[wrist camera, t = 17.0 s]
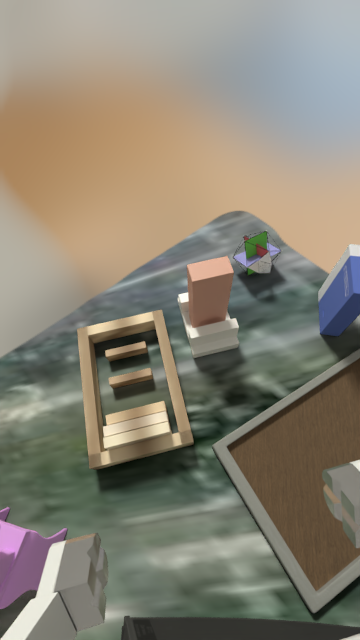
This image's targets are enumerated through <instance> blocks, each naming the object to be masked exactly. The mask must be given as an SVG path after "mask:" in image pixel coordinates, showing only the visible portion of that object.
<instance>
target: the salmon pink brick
mask: <svg viewBox="0 0 360 640" xmlns="http://www.w3.org/2000/svg"><path fill="white" fill-rule="evenodd" d="M187 275H188V299H189V318H190V321H191V325H192V328H196V327H200V326H204V325H209V324H213V323H217V322H221V321H225V319H226V314H227V308H228V302H229V297H230V291H231V286H232V280H233V275H234V271H233V269H232V266H231V264H230V261H229V259H228V256H225V257H221V258H216V259H211V260H207V261H202V262H198V263H193V264H189V265H187Z"/></svg>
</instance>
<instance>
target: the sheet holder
mask: <svg viewBox="0 0 360 640" xmlns="http://www.w3.org/2000/svg"><path fill="white" fill-rule="evenodd" d="M178 304H179V308H180V311H181V315H182V319H183V322H184V326H185V329H186V333H187V337H188V340H189V344H190V348H191V351H192V355H193V358H196V357H201V356H205V355H209V354H213V353H217V352H221V351H226V350H230V349H234V348H238V346H239V342H238V339H237V332H238V329H239V326H238V323H237V321H236V318H234V319H230V317H229V314H228V311H227V314H226V319H225V321H221V322H217V323H213V324H209V325H204V326H200V327H196V328H192V325H191V321H190V318H189V299H188V293H184V294H180V295H179V298H178Z"/></svg>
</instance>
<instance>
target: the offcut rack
mask: <svg viewBox="0 0 360 640" xmlns="http://www.w3.org/2000/svg"><path fill="white" fill-rule="evenodd" d="M154 329H156V332H157V336H158V341H159V345H160V350H161V354H162V359H163V363H164V367H165V372H166V376H167V381H168V385H169V390H170V394H171V399H172V403H173V408H174V412H175V416H176V421H177V425H178V430H179V432H178V433H174V434H172V431H171V427H170V422H169V417H168V412H167V408H166V405H165V402H164V401H162V402H158V403H154V404H150V405H146V406H142V407H138V408H134V409H130V410H126V411H122V412H118V413H114V414H110V415H106V422H107V425H108V426H104V427H103V418H102V410H101V401H100V392H99V384H98V375H97V366H96V358H95V349H94V343H98V342H102V341H107V340H111V339H115V338H120V337H124V336H128V335H132V334H137V333H141V332H145V331H150V330H154ZM77 333H78V344H79V355H80V366H81V377H82V388H83V400H84V411H85V422H86V433H87V444H88V455H89V467H90V469H96V470H97V469H101V468H105V467H109V466H113V465H116V464H120V463H124V462H128V461H132V460H136V459H139V458H143V457H147V456H151V455H155V454H159V453H162V452H166V451H170V450H174V449H178V448H182V447H186V446H189V445H193V444H194V441H193V437H192V433H191V429H190V425H189V421H188V417H187V412H186V408H185V404H184V400H183V396H182V392H181V388H180V384H179V379H178V375H177V371H176V367H175V363H174V359H173V355H172V351H171V346H170V342H169V338H168V334H167V330H166V326H165V322H164V317H163V313H162V310H158V311H153V312H149V313H145V314H140V315H136V316H132V317H127V318H123V319H118V320H114V321H110V322H105V323H101V324H96V325H92V326H88V327H83V328H79V329H77ZM147 352H148V350H147V346H146V343H145V341H144V342H140V343H136V344H131V345H127V346H123V347H118V348H114V349H110V350H106V351H105V353H106V358H107V359H108V360H109V362H110V361H114V360H118V359H122V358H126V357H131V356H135V355H139V354H143V353H147ZM151 379H153V375H152V371H151V368H148V369H144V370H140V371H136V372H132V373H128V374H123V375H119V376H115V377H111V378H109V383H110V386H111V387H112V388H113V389H114V388H118V387H122V386H126V385H130V384H134V383H138V382H142V381H146V380H151ZM106 449H107V450H108V451H106Z"/></svg>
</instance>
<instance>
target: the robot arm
mask: <svg viewBox="0 0 360 640" xmlns="http://www.w3.org/2000/svg"><path fill="white" fill-rule="evenodd" d="M322 479H323V480H324V482H325V483H326V484H325V486H324V488H323V492H324V498H325V501H326V503H327V506H328V508H329V509H330V511H331V513H332V514H333V516H334V517H335V518H336V519H338V520H340V521H342V523H343V530H344V532H345V533H346V535H347V536H348V538H349V539H350V541H351V542H352V543H353V545H354V546H355V548H360V460H357V461H353V462H350V463H346V464H342V465H339V466H335V467H332V468H328V469H325V470H323V472H322ZM100 543H101V539H100V537H99V534H98V533H93V534H89V535H85V536H81V537H77V538H73V539H69V540H65V541H61V542H57V543H53V544H52V545H51V547H50V549H49V552H48V555H47V559H46V562H45V566H44V569H43V573H42V577H41V580H40V584H39V587H38V591H37V594H36V598H34V599H31V600H30V601H29V603H28V604H27V605H26V607H25V608H24V609H23V611H22V612H21V613H20V614H19V616H18V617H17V618H16V620H15V621H14V622H13V624H12V625H11V626H10V628H9V629H8V630H7V632H6V633H5V634H4V636H3V637H2V638H1V640H74V639H75V637H76V635H77V631H81V630H84V629H87V628H90V627H93V626H96V625H99V624H102V623H104V619H105V608H106V596H105V593H104V591H103V590H104V588H105V586H106V585H107V583H108V561H107V556H106V552H105V550H104V549H103V548H101V547H100ZM341 640H360V634H357V635H354V636H350V637H347V638H344V639H341Z"/></svg>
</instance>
